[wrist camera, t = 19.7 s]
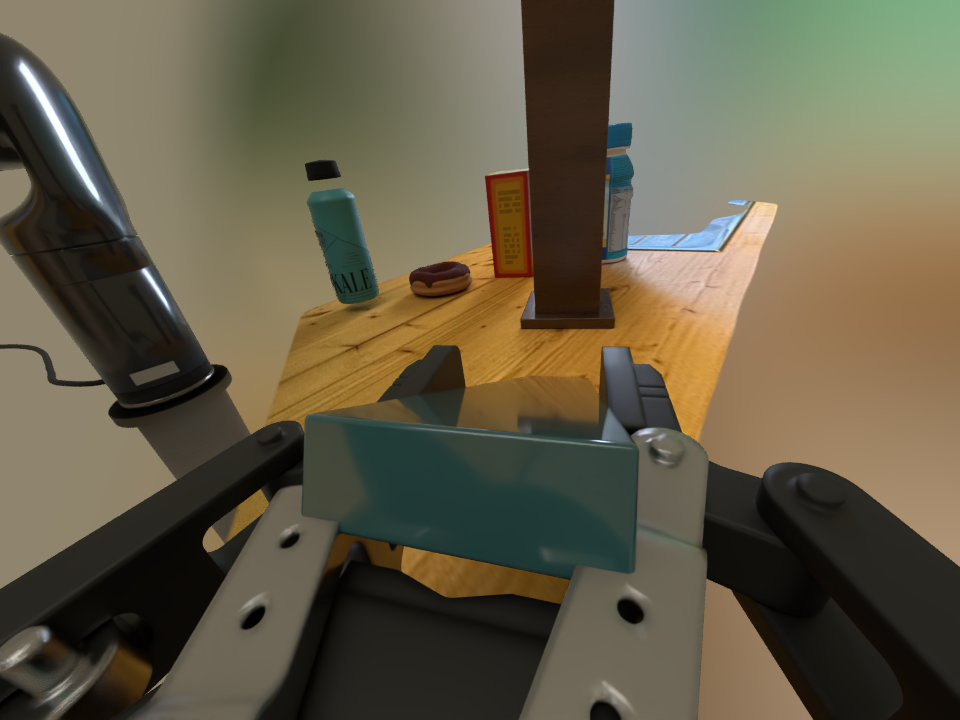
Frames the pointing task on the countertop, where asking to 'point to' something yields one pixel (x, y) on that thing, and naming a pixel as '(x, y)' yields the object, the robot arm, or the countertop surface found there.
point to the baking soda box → (510, 222)
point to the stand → (567, 158)
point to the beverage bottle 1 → (341, 237)
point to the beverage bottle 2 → (617, 193)
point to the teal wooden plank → (482, 475)
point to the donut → (440, 279)
